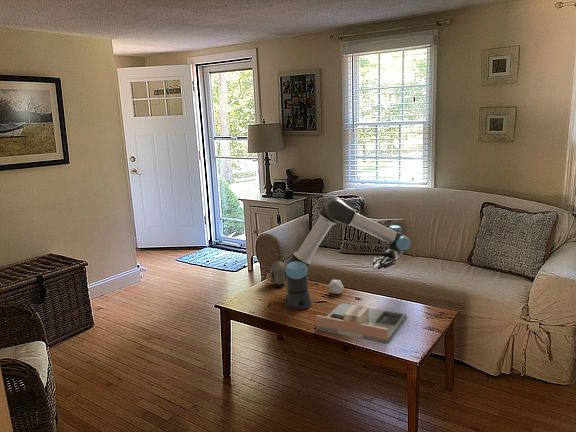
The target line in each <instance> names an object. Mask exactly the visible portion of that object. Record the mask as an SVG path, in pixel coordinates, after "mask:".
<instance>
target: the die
mask: <svg viewBox="0 0 576 432" xmlns="http://www.w3.org/2000/svg"><path fill="white" fill-rule="evenodd" d="M327 285H328V286H327V287H328V290H329V292H330V293H331V295H333V294H334V295H340V294H341V293H342V292H343V290H344V285H343V282H342V281H341V280H340V279H331V281H330V282H329V283H328V284H327Z"/></svg>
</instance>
